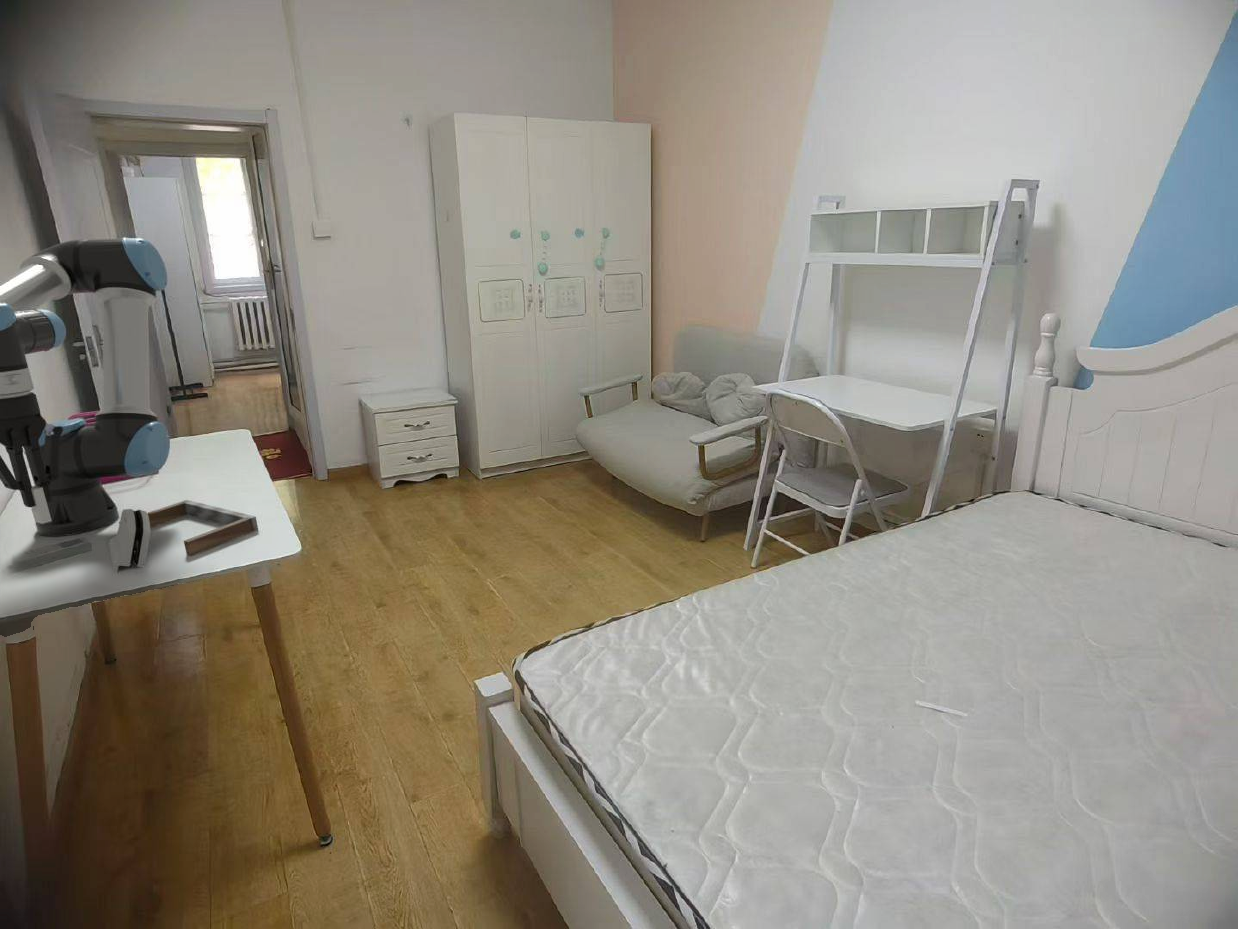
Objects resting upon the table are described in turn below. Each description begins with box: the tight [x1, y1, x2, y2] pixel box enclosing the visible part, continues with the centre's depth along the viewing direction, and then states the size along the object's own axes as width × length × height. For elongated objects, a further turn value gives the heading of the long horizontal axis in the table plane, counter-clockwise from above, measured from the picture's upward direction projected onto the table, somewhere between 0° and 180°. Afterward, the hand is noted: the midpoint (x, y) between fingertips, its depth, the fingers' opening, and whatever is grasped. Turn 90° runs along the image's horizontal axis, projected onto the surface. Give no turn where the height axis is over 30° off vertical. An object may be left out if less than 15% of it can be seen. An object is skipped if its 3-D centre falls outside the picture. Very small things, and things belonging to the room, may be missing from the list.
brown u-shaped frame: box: [118, 499, 259, 557], centre depth 159 cm, size 25×15×3 cm, turn 61°
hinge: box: [108, 508, 151, 574], centre depth 148 cm, size 17×5×10 cm, turn 37°
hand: (43, 521), depth 134 cm, fingers closed
